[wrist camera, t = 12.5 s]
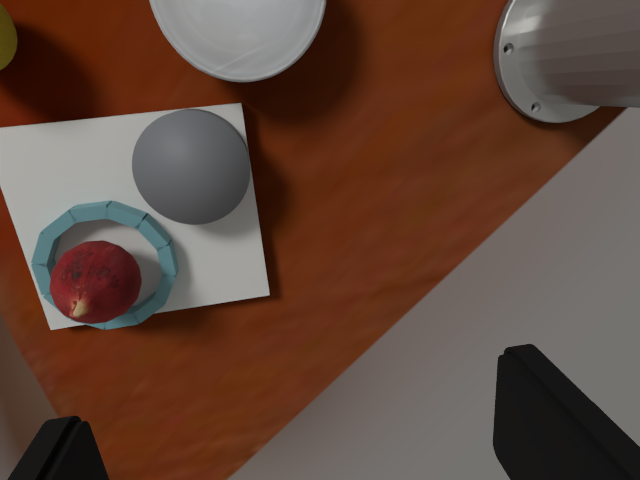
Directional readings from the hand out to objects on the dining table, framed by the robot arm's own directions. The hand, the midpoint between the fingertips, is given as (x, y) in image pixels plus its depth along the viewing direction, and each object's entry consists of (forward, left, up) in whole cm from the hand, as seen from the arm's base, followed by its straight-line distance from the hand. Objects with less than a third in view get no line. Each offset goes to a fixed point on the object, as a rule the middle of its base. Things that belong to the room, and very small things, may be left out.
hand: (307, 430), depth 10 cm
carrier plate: (+10, +2, -28) cm, 30 cm away
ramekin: (0, -13, -28) cm, 31 cm away
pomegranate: (+13, +5, -27) cm, 30 cm away
